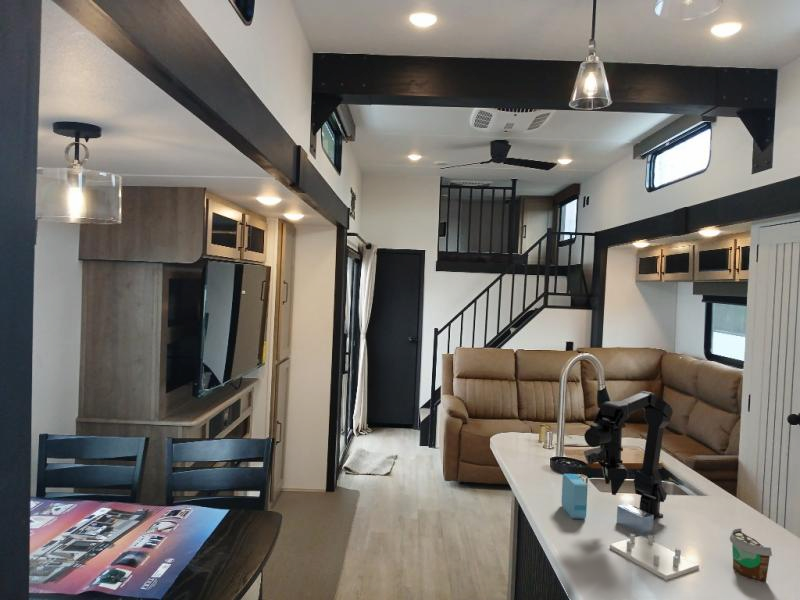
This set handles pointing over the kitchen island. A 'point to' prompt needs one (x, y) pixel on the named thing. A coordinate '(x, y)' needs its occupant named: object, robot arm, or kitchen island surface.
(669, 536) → the kitchen island surface
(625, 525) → the block
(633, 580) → the kitchen island surface
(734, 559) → the food container
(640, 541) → the cream pegged board
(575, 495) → the light blue box
